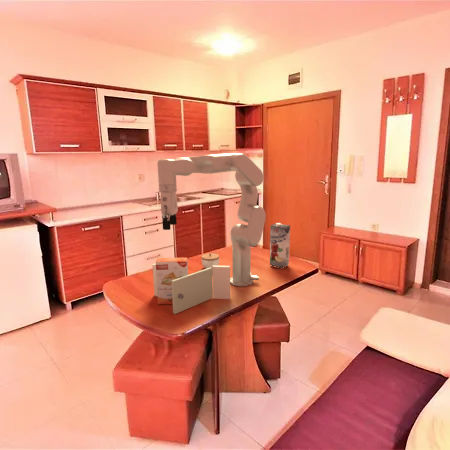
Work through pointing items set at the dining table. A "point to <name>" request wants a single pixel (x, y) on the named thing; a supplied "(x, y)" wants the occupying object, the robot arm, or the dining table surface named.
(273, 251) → the juice carton
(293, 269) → the dining table surface
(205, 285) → the door
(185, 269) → the cracker box
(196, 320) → the dining table surface
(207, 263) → the lidded jar
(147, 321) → the dining table surface
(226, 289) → the door frame
